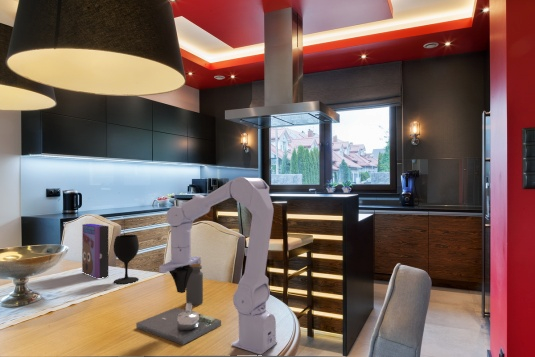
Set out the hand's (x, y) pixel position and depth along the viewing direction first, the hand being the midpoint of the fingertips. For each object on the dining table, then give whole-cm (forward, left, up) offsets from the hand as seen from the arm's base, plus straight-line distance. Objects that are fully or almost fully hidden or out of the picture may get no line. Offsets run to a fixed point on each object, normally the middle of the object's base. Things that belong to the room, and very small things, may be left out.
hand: (181, 292), depth 100 cm
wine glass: (+59, -21, -11) cm, 63 cm away
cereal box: (+81, -19, -11) cm, 84 cm away
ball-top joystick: (-2, -1, -8) cm, 9 cm away
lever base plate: (+1, 0, -10) cm, 10 cm away
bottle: (+12, -17, -11) cm, 23 cm away
